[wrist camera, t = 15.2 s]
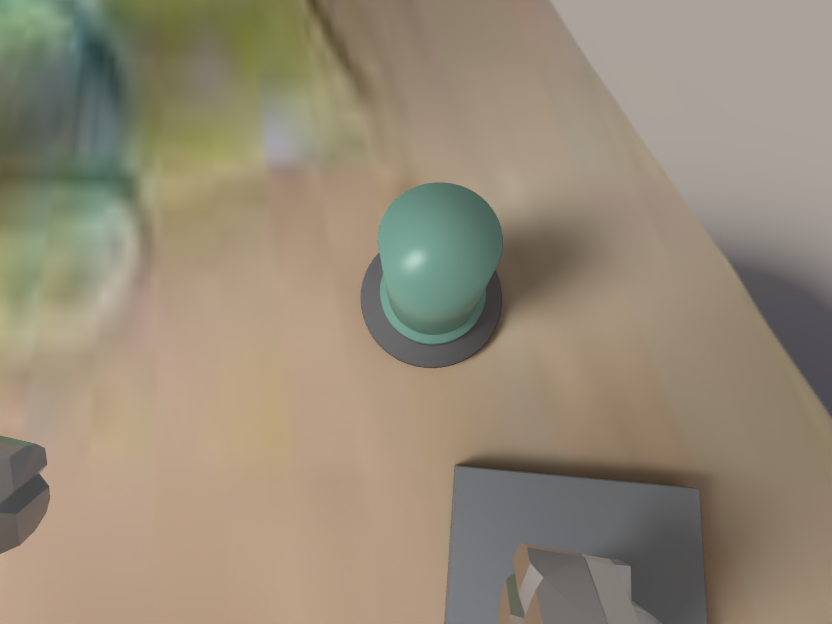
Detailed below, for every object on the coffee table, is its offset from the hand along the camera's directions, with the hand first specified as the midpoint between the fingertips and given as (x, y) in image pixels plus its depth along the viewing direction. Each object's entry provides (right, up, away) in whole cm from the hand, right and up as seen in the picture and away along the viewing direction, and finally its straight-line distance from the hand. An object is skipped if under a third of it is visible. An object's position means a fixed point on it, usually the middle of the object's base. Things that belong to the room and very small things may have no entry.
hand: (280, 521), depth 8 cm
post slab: (+10, -11, +15) cm, 21 cm away
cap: (+3, +5, +18) cm, 19 cm away
